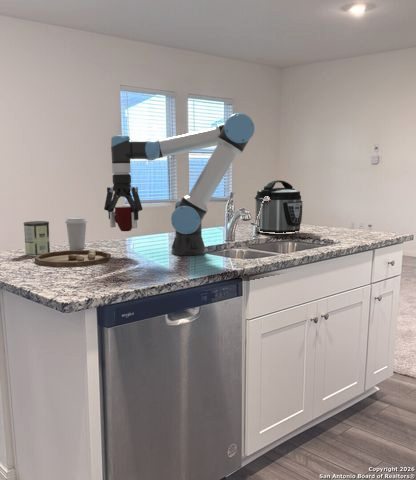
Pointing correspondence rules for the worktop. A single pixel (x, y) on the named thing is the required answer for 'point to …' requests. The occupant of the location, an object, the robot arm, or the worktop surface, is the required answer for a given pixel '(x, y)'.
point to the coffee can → (36, 237)
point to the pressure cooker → (279, 208)
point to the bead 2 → (91, 256)
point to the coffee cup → (76, 232)
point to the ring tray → (71, 258)
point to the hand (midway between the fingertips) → (123, 227)
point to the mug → (124, 217)
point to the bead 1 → (80, 258)
